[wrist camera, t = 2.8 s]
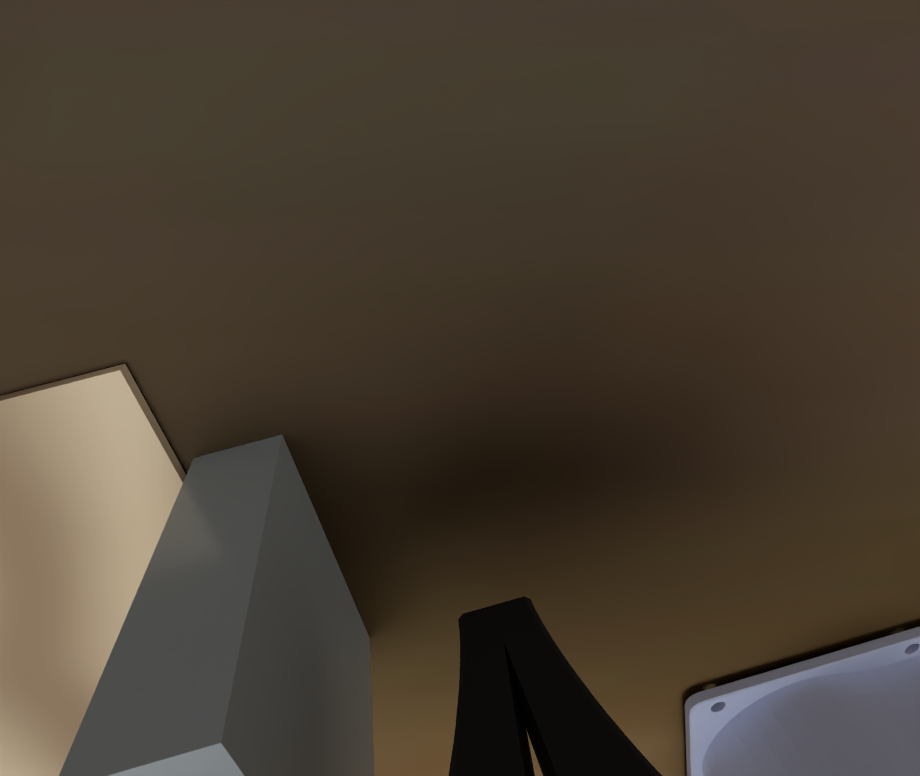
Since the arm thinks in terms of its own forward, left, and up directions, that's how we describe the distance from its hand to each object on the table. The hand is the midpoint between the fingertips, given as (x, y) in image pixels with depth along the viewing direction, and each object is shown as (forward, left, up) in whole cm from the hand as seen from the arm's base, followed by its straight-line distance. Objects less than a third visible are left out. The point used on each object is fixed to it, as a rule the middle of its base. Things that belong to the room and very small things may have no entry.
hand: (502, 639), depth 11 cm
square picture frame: (+4, 0, -4) cm, 6 cm away
